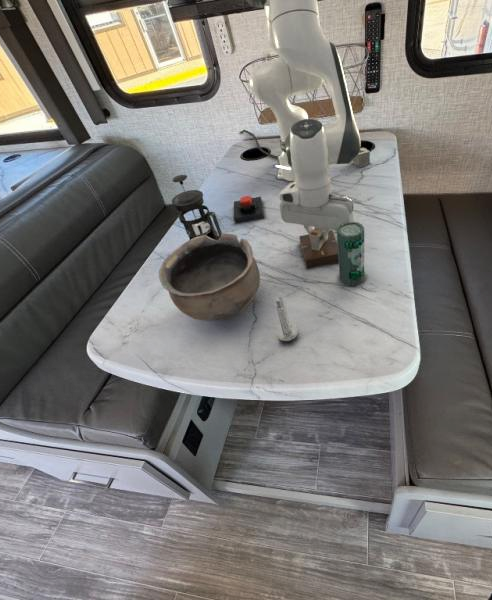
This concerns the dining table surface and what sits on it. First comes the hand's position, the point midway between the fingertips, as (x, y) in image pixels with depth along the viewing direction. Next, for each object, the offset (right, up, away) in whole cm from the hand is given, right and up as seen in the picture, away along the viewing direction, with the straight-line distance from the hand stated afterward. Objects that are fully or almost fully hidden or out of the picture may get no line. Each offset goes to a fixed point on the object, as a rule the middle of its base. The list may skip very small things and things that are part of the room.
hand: (318, 238), depth 94 cm
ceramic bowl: (-25, -19, -7) cm, 32 cm away
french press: (-35, 0, +14) cm, 38 cm away
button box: (-24, +14, +25) cm, 37 cm away
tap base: (+1, -4, +4) cm, 5 cm away
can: (+8, -11, -5) cm, 15 cm away
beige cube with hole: (+19, +38, +42) cm, 60 cm away
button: (-24, +16, +23) cm, 37 cm away
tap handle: (0, -1, +1) cm, 2 cm away
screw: (-8, -26, -17) cm, 32 cm away
